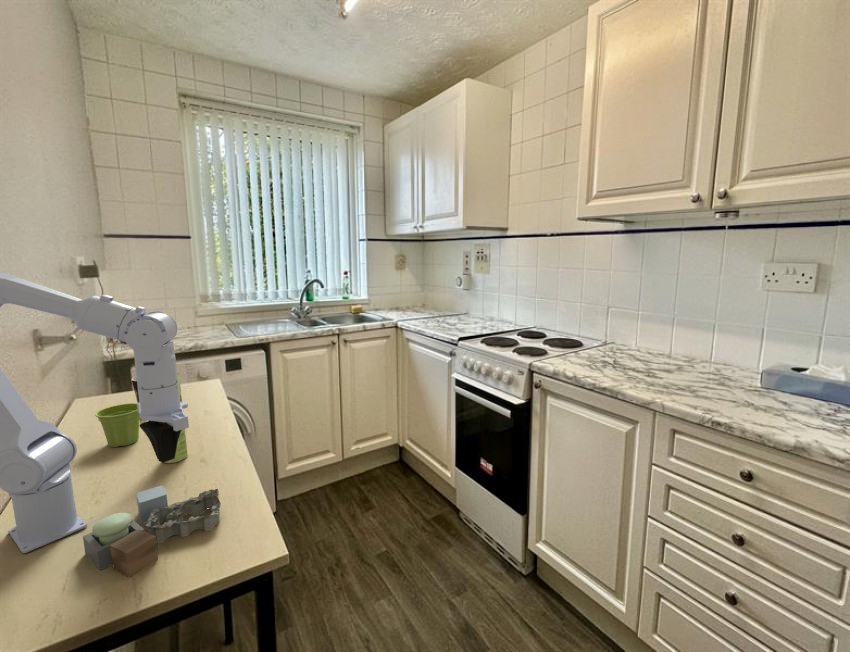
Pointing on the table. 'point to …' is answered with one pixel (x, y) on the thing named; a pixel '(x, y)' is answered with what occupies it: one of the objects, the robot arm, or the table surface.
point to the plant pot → (120, 424)
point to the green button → (112, 527)
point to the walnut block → (134, 553)
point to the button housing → (103, 547)
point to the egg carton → (180, 509)
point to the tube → (180, 437)
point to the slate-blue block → (151, 502)
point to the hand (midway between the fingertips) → (166, 459)
